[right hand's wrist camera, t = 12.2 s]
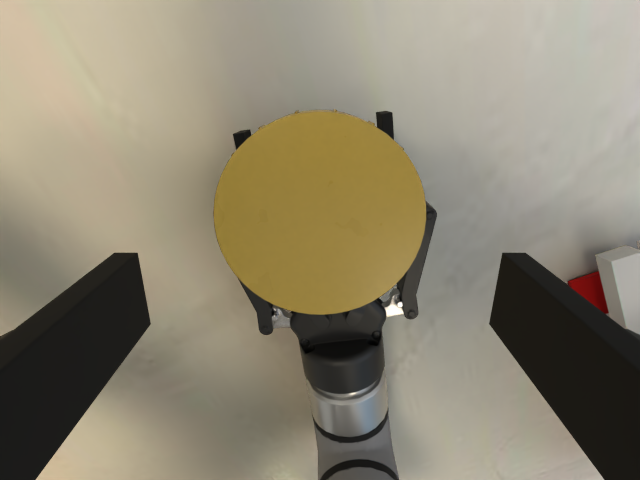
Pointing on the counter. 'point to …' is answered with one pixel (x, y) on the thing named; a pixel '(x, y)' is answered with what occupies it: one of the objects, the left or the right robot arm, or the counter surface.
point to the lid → (319, 212)
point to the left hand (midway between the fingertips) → (312, 122)
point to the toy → (615, 286)
